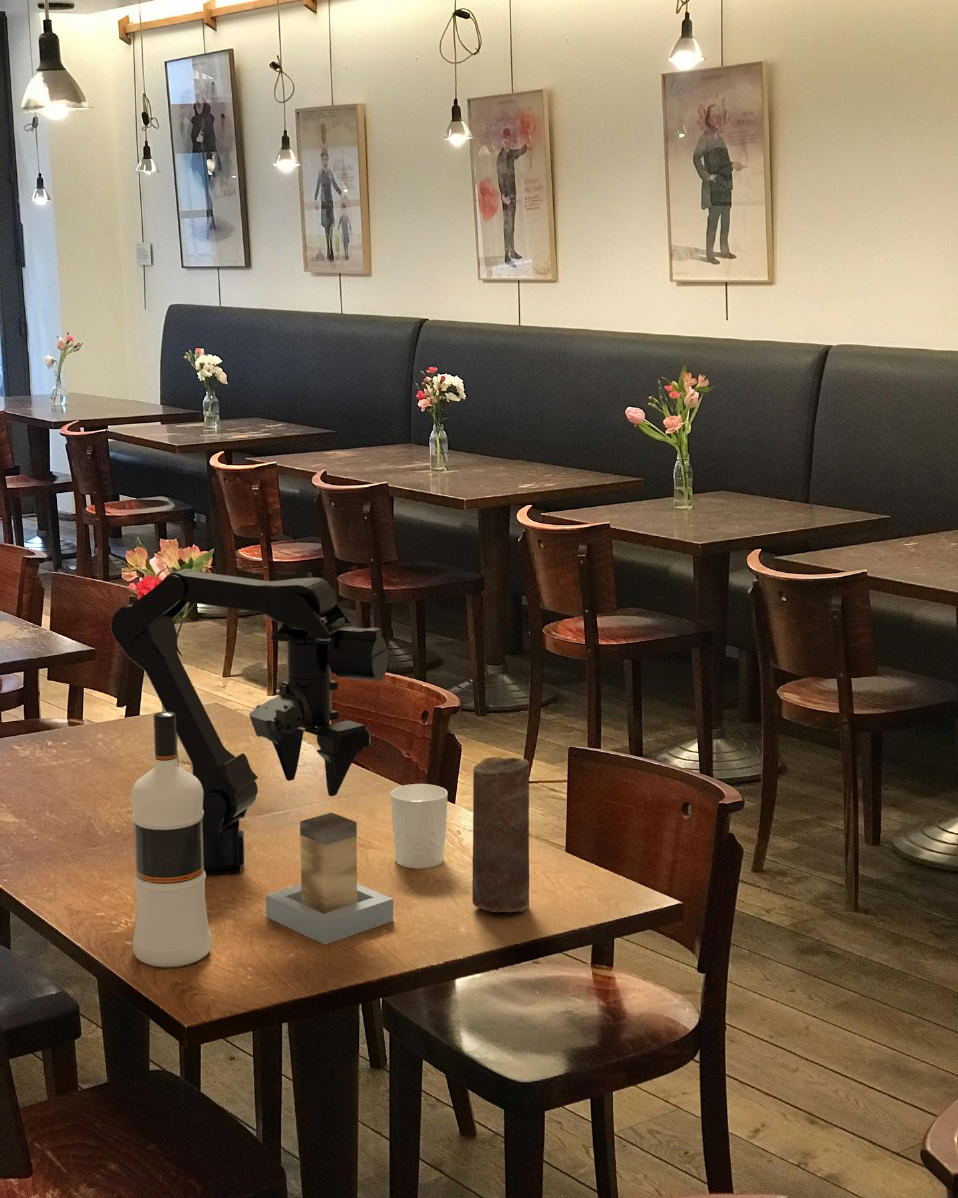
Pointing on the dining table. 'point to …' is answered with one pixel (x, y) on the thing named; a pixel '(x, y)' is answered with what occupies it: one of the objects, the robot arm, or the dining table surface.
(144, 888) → the vodka
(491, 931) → the dining table surface
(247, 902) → the dining table surface
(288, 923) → the frame
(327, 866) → the wooden square peg
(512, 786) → the brown textured cylinder
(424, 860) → the white cup
